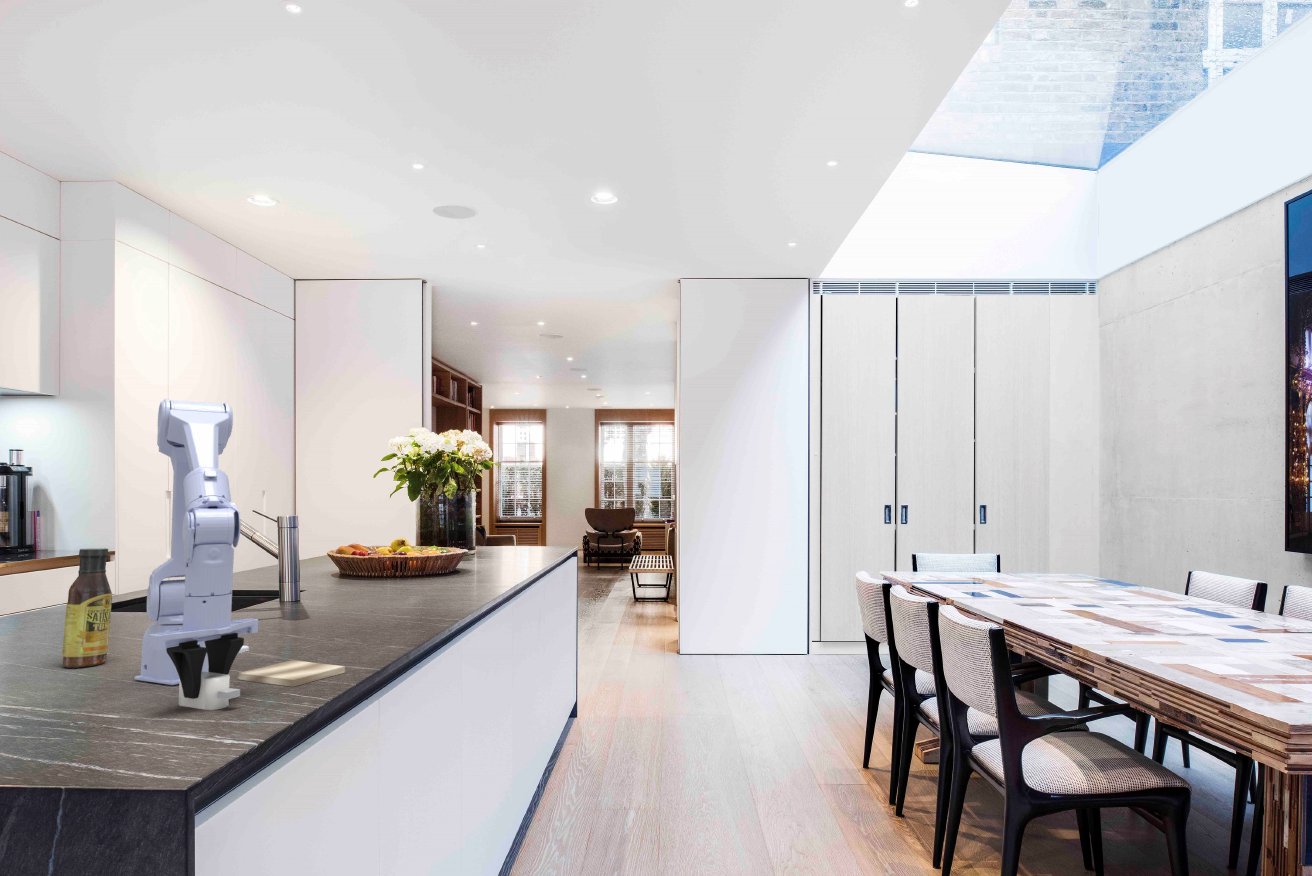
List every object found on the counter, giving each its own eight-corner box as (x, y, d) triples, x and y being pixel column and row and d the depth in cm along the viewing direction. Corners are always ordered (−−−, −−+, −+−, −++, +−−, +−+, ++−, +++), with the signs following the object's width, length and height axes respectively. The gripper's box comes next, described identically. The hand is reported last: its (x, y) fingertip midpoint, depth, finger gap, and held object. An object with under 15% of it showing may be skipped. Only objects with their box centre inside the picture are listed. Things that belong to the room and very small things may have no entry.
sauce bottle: (88, 669, 124) (95, 549, 125) (51, 669, 124) (59, 549, 125) (117, 660, 130) (123, 547, 132) (82, 660, 130) (89, 547, 132)
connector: (173, 704, 102) (174, 675, 102) (194, 699, 105) (195, 670, 105) (223, 712, 98) (224, 681, 98) (243, 706, 101) (244, 676, 101)
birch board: (238, 679, 116) (238, 672, 116) (291, 666, 125) (292, 660, 125) (292, 686, 111) (293, 680, 112) (344, 672, 121) (345, 666, 121)
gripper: (175, 602, 95) (170, 711, 94) (274, 589, 108) (270, 685, 107) (140, 599, 98) (134, 705, 96) (240, 587, 111) (236, 680, 110)
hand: (203, 694), depth 102 cm, fingers closed on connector, 3 cm apart
